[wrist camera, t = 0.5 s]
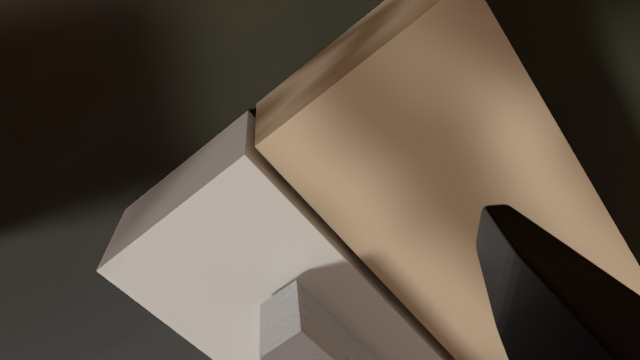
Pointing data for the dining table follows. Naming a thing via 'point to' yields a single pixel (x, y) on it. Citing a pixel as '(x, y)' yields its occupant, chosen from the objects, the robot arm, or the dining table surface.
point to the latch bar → (305, 330)
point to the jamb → (247, 257)
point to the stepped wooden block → (432, 159)
